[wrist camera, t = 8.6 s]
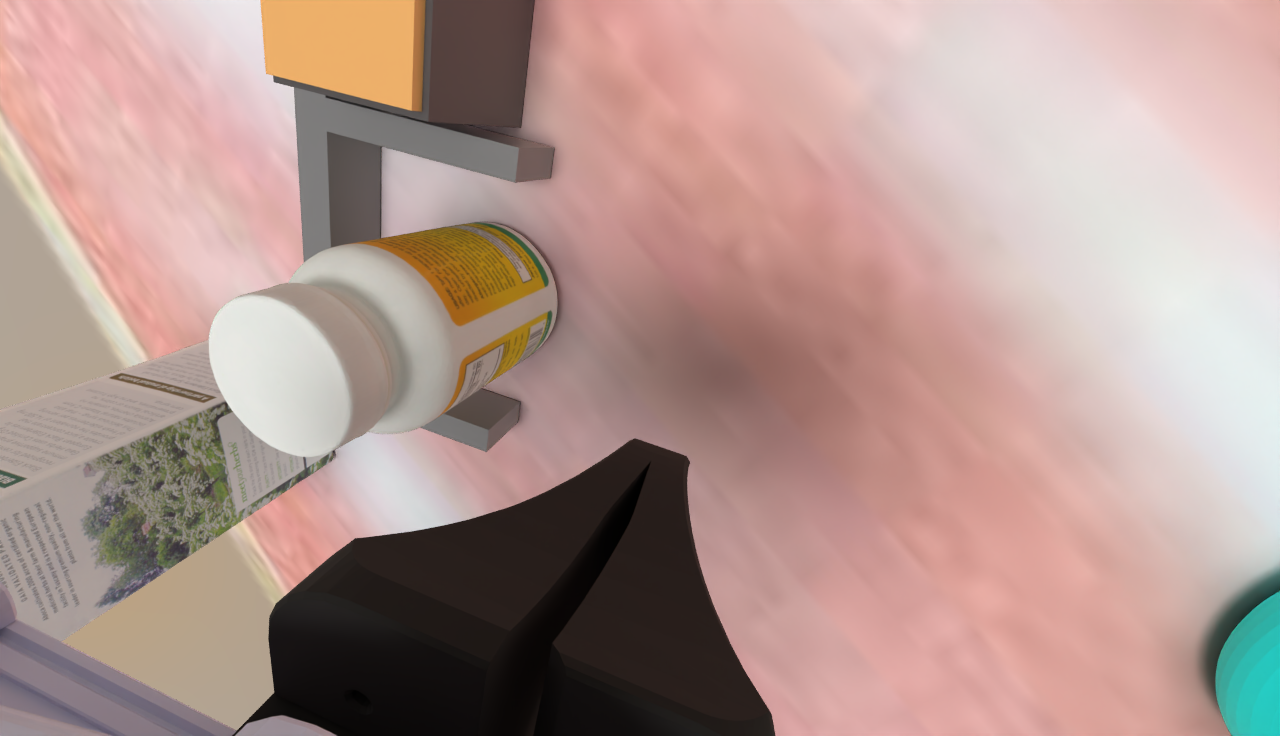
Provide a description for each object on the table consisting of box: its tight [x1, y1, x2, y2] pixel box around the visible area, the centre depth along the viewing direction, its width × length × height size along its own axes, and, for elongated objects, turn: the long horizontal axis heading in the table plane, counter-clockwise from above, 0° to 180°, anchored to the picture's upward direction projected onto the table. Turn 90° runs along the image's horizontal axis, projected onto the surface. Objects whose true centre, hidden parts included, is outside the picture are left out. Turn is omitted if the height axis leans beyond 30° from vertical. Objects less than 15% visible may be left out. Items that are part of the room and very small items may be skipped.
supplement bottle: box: [209, 222, 558, 457], centre depth 17 cm, size 5×5×10 cm
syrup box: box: [0, 340, 333, 642], centre depth 20 cm, size 6×6×14 cm
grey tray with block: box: [261, 0, 554, 452], centre depth 18 cm, size 20×8×5 cm, turn 168°
